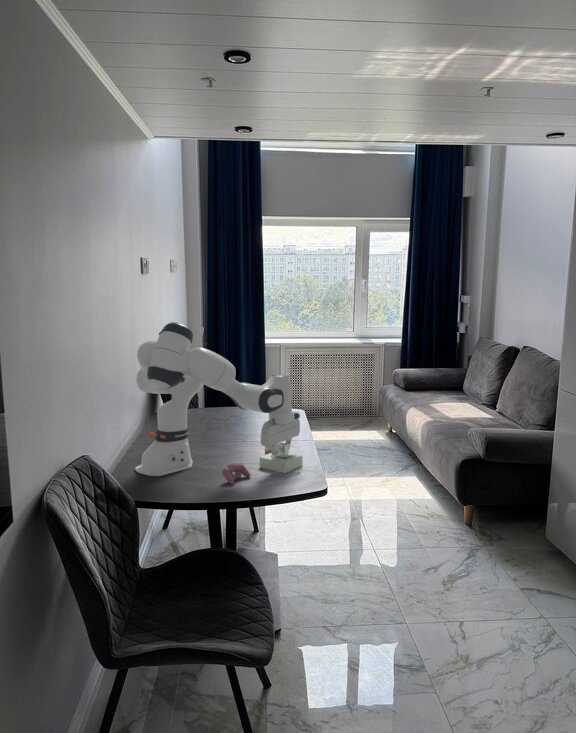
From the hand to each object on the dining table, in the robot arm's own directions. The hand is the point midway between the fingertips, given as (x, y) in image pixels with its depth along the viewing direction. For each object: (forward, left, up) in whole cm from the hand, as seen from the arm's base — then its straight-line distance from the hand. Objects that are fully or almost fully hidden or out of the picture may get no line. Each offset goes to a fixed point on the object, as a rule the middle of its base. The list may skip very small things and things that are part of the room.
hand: (280, 452), depth 224 cm
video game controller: (-21, +4, -6) cm, 22 cm away
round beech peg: (+7, +10, -6) cm, 13 cm away
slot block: (0, 0, -6) cm, 6 cm away
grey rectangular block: (0, 0, -6) cm, 6 cm away
